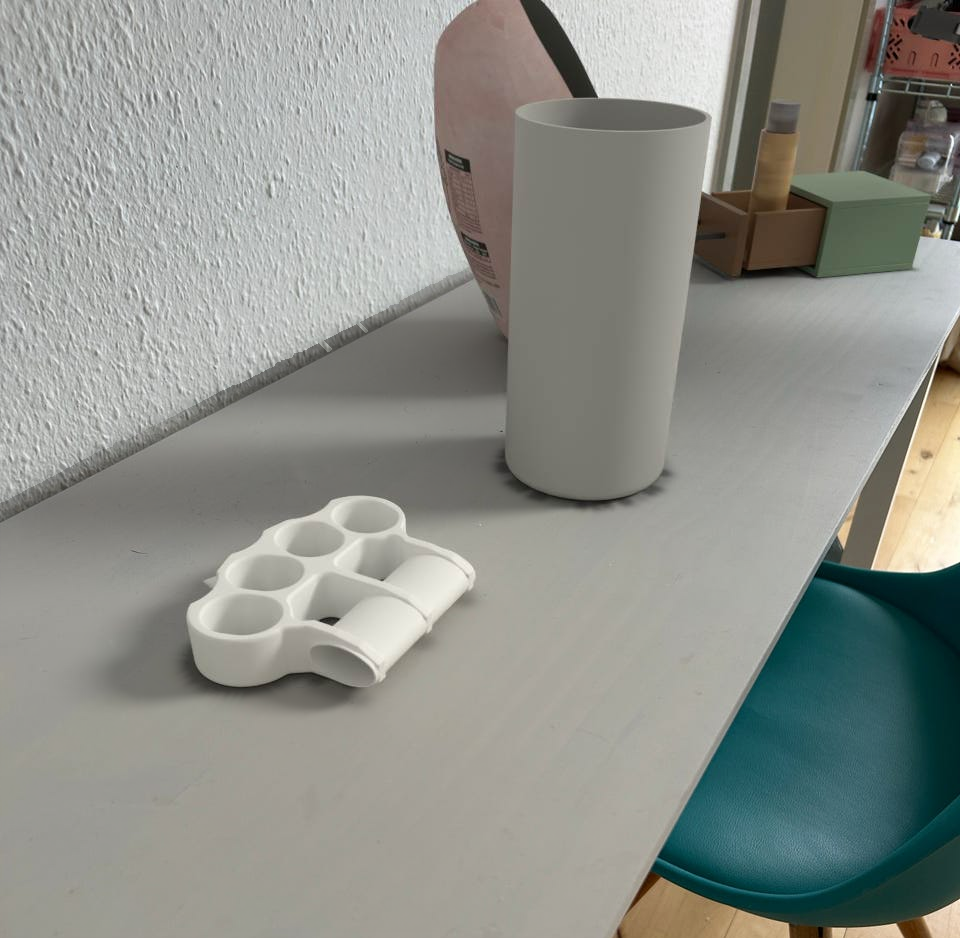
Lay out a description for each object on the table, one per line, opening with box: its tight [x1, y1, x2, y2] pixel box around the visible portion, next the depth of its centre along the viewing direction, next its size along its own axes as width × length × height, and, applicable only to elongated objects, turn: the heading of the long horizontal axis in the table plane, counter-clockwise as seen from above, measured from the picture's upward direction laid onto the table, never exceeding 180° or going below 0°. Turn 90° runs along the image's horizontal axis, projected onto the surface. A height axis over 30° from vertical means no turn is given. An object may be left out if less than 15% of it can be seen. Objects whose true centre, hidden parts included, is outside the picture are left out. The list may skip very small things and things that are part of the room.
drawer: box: [693, 189, 828, 277], centre depth 119 cm, size 17×12×7 cm
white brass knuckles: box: [185, 495, 477, 688], centre depth 61 cm, size 3×18×15 cm
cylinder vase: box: [504, 97, 713, 501], centre depth 71 cm, size 12×12×25 cm
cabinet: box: [789, 170, 932, 279], centre depth 123 cm, size 14×14×9 cm
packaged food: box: [433, 0, 599, 340], centre depth 89 cm, size 22×20×30 cm
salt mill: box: [745, 98, 802, 250], centre depth 117 cm, size 4×4×16 cm
